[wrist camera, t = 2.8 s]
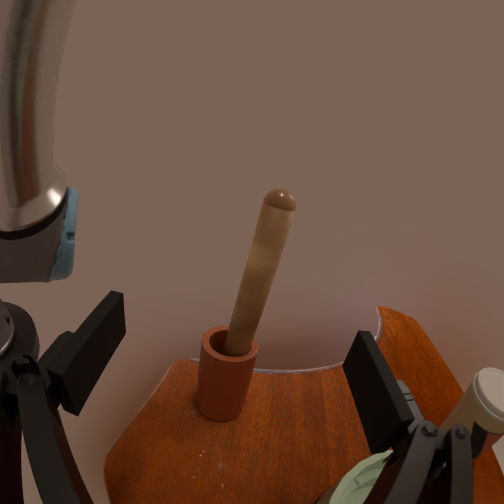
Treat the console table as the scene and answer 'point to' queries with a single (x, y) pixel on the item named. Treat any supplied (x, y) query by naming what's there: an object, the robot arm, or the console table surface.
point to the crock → (223, 377)
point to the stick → (259, 270)
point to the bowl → (356, 482)
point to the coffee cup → (481, 410)
